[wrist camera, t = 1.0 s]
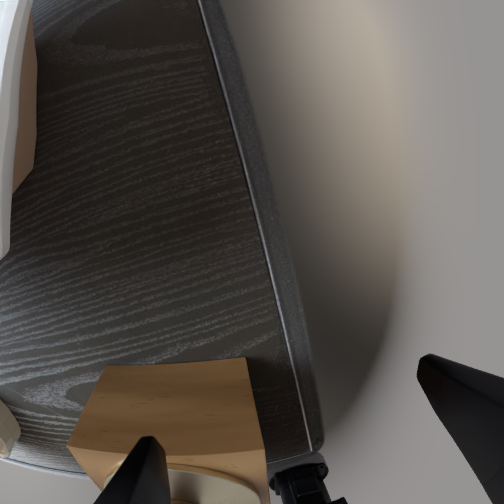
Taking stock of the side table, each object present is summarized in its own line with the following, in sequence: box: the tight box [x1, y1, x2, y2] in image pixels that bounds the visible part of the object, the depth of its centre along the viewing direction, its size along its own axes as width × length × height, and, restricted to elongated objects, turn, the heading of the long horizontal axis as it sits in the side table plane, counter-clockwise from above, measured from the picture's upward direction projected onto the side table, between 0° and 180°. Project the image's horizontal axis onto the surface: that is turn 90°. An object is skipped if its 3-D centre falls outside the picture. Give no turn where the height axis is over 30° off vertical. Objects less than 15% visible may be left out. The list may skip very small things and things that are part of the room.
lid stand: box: [67, 357, 270, 504], centre depth 17 cm, size 11×11×9 cm
